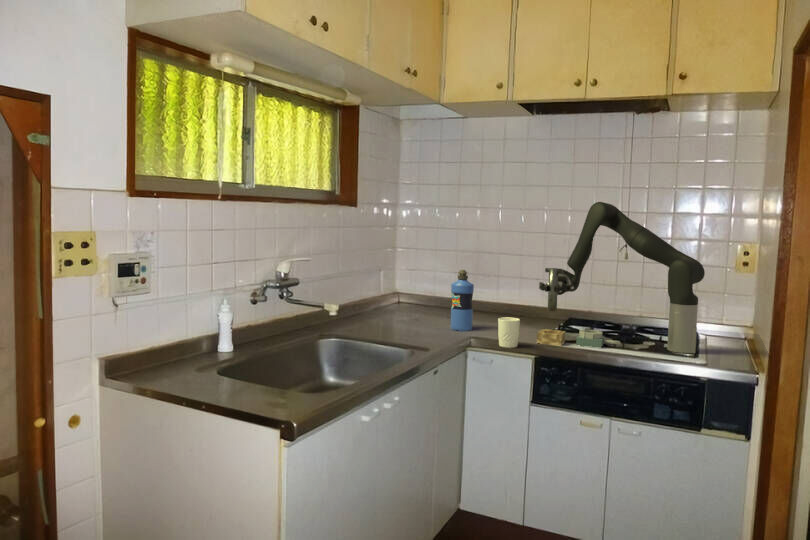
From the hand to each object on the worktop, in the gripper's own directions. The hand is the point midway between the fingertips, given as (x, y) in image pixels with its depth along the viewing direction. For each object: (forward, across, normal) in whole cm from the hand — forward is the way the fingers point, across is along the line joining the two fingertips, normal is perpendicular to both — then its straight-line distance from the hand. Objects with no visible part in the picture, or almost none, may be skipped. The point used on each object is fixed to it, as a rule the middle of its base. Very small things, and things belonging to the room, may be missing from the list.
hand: (551, 289), depth 226 cm
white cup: (+11, -13, +21) cm, 27 cm away
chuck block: (-6, +17, +21) cm, 27 cm away
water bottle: (-11, -39, +21) cm, 46 cm away
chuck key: (-3, 0, +8) cm, 9 cm away
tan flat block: (-3, 0, +21) cm, 21 cm away
